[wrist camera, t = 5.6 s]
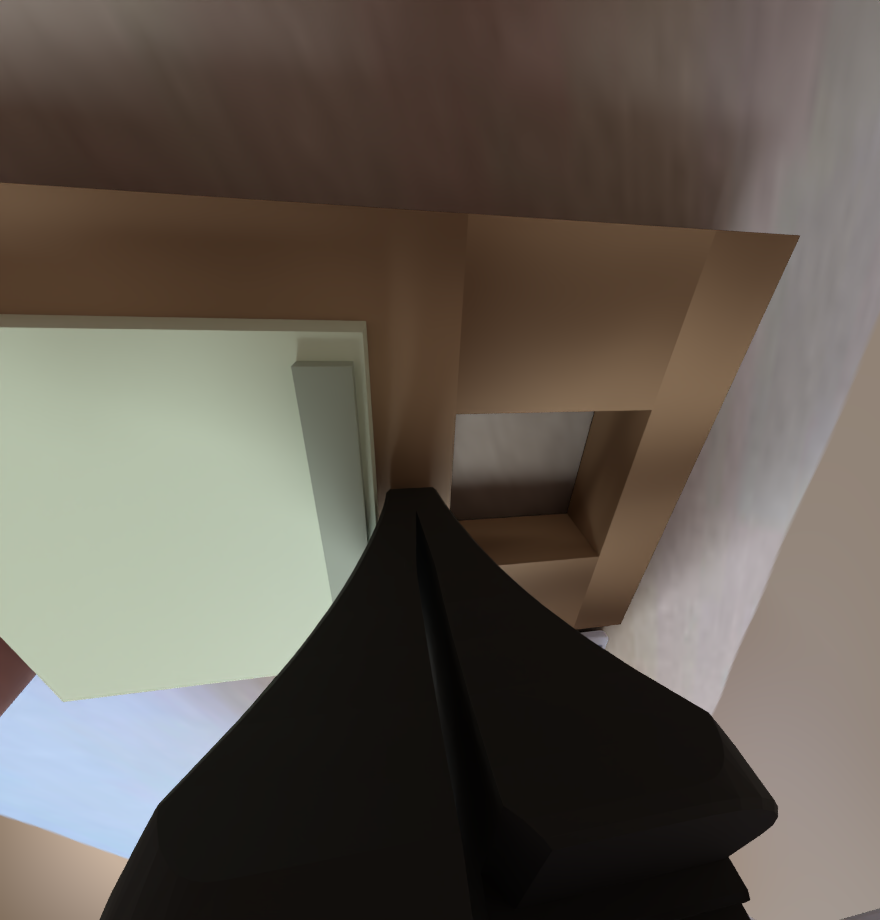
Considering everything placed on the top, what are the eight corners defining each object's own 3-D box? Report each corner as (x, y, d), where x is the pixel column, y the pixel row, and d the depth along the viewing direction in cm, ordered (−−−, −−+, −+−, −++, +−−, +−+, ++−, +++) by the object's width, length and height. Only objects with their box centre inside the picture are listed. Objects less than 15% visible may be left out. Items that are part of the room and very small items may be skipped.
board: (590, 578, 17) (620, 624, 15) (190, 617, 14) (156, 679, 12) (710, 242, 10) (800, 235, 8) (-18, 198, 7) (-182, 170, 5)
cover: (385, 619, 12) (386, 674, 11) (101, 650, 11) (51, 718, 9) (366, 320, 7) (361, 336, 6) (-154, 311, 6) (-354, 327, 4)
